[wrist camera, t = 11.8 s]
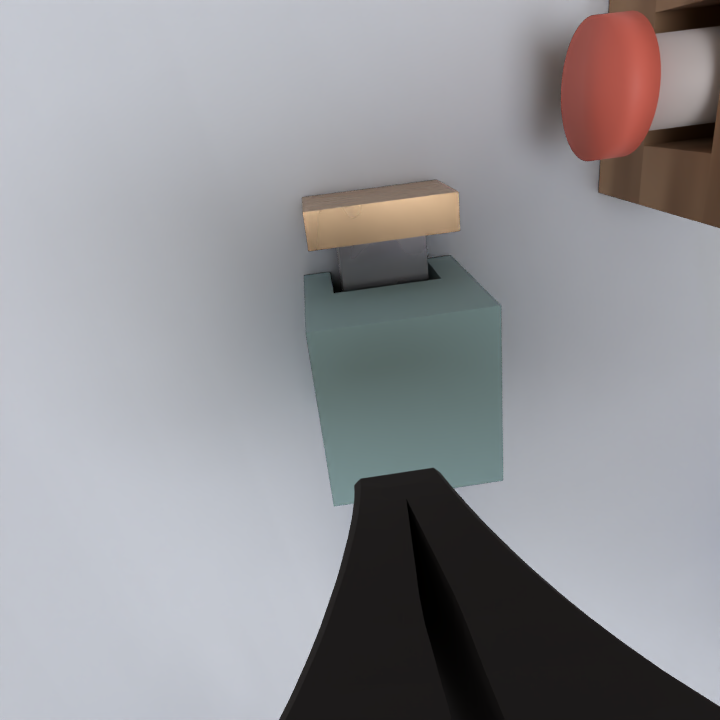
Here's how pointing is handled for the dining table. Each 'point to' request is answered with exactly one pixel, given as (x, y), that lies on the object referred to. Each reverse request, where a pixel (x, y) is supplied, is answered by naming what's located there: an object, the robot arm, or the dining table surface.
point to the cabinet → (671, 136)
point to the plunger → (635, 82)
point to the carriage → (407, 378)
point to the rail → (381, 230)
